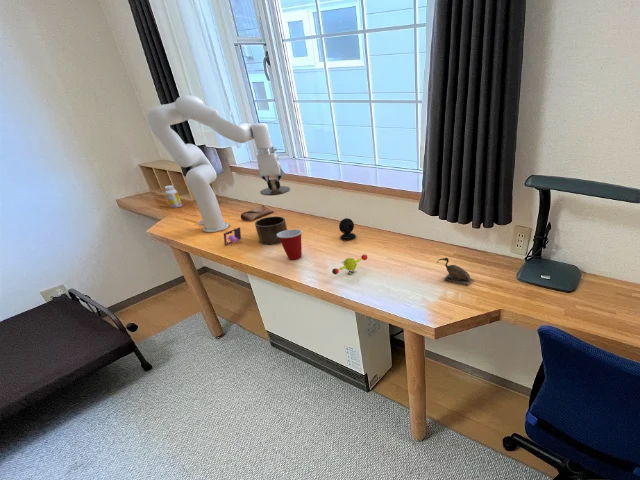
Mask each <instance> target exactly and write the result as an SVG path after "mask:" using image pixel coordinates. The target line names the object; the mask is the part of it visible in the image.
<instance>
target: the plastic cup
mask: <svg viewBox="0 0 640 480" xmlns="http://www.w3.org/2000/svg"><path fill="white" fill-rule="evenodd" d="M302 235H303V230H302V229H298V228H296V229H295V228H293V229H292V228H291V229H287V230H285V231H282V232H279V233H277V235H276V236H277V237H278V238H279V240H280V242H281V243H280V244H281V246H282V248H283V251H284V252H285V254H286V256H287V258H288V260H290V261H296V260H299V259H301V258H302V256H303V254H302V248H303V247H302Z"/></svg>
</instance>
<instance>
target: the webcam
mask: <svg viewBox="0 0 640 480" xmlns="http://www.w3.org/2000/svg"><path fill="white" fill-rule="evenodd" d="M354 228H355V224H354V221H353V220H352V219H351V218H348V217H346V218H343V219H341V220H340V222H339V224H338V229H339V231H340V232H341V235H340V240H342V241H353V240H355V238H357V237H356V234H355V233H354V232H353V230H354Z"/></svg>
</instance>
